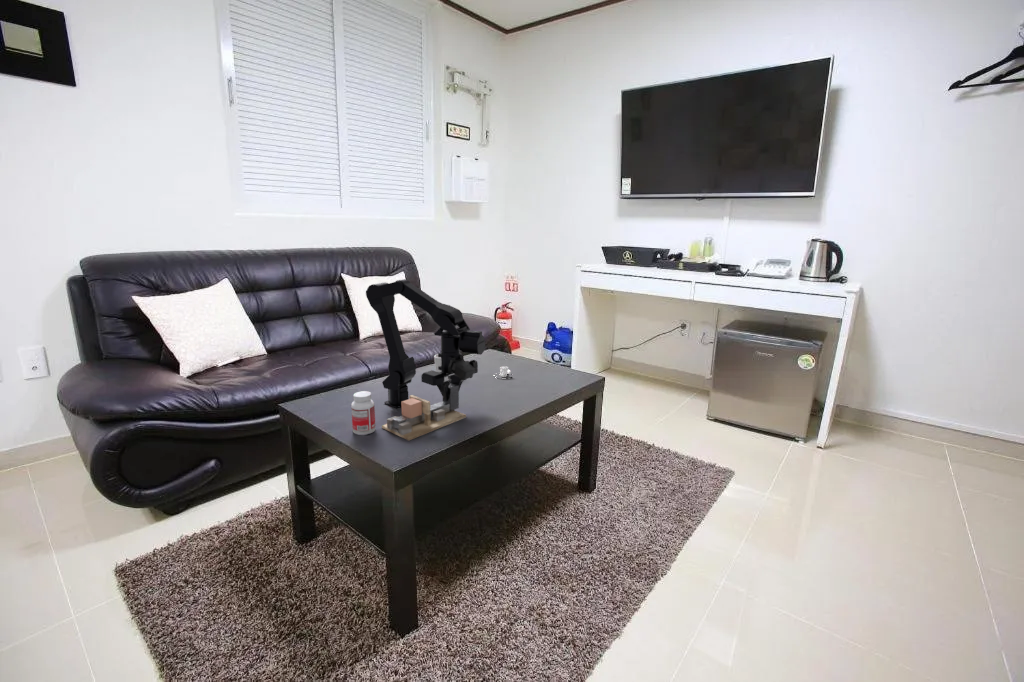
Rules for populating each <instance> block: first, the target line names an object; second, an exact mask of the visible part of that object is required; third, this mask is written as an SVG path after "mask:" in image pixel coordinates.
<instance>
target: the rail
mask: <svg viewBox="0 0 1024 682" xmlns="http://www.w3.org/2000/svg"><path fill="white" fill-rule="evenodd" d="M408 398H409V399H411V398H414V399H417V400H419V401H422V413H424V414H425V421H423V422H420V423H417V424H415V425H412V426H411V422H408V421H406V422H403V423H400V424H399V430H398V429H396V428H394V427H393V419H394V418H396V417H398V416H396V415H394V416H392V417H389V418H387V419H386V423H384V424H383V425H381V429H383V430H385V431H388V432H390V433H392V434H393V435H396V436H398V437H400V438H402V439H404V440H407V441H408V442H409V441H411V440H414V439H416V438H418V437H421V436H424V435H426V434H428V433H431V432H434V431H436V430H438V429H441V428H443V427H445V426H449V425H451V424H453V423H456V422H458V421H460V420H463V419H465V418H467V414H465V413H462V412H460V411H457V410H456V409H455V410H452V411H449V412H446V413H445V410H443V409H438V410H436V411H433V418H430V405H431V401H429V400H426V399H424V398H421V397H419V396H416V395H414V394H411V395H408Z"/></svg>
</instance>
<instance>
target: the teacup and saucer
mask: <svg viewBox="0 0 1024 682" xmlns="http://www.w3.org/2000/svg"><path fill="white" fill-rule="evenodd" d="M499 373H500V374H499V376H500V377H501V376H502V377H501V378H507V376H508V375H507V374H512V371H511V370H510V369H509V366H506V365H503V366H500V367H499ZM493 376H495V375H494V374H493ZM496 377H497V376H496ZM496 377H495V379H497V378H496Z"/></svg>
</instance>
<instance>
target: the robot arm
mask: <svg viewBox="0 0 1024 682" xmlns="http://www.w3.org/2000/svg"><path fill="white" fill-rule="evenodd" d="M395 295H401V296H402V297H404V299H406V300H408V301H409V302H411V303H412V304H414V305H415V306H417V307H418V308H419V309H421V310H423V311H424V312H426V313H427V314H428V315H429V316H430V317H431V318H432V321H433V322H434V323H435V324H436V325H437V326H438V327H439V328H438V329H437V331H435V332H434V333H433V335H434V336H438V337H440V352H438V353H437V354H438V357H441V366H438V370H441V372H436V370H432V369H431V370H428V371H425V372H423V373H422V374H421V383H424V384H426V385H430V386H434V387H437V389H438V391H439V392H440V394H441V396H442V399H443V398H444V400H445V401H448V387H449V385H450V383H453V384H456V385H459V391H460V389H461V388H462V387H461V386H462V385H463V382H464V381H466V380H467V379H472V378H473V376H474V374H477V373H478V370H479V369H478V368H479V367H478V365H479V364H478V361H477V360H475V359H472V360H470V361H469V360H465V359H464V357H465V356H464V353H465V354H472V355H473V354H474V355H480V356H481V355H483V353H484V351H485V348H486V341H485V337H484V335H483V331H481V330H475V331H474V330H471V328H470V327H469V325H468V324H467V322H466V321H465V319H464V317H463V312H462V311H461V310H460V309H458V308H456V307H454V306H451V305H450V304H446V303H442V302H440V301H438V300H437V299H435V298H434V297H432V296H431V295H429V294H427V293H426V292H425V291H424V290H422V289H421V288H420V287H419V288H418V287H417V286H416V285H414V284H413V283H412V282H410V280H408V279H398V280H395V281H393V282H389V283H388V282H379V283H375V284H374V283H373V284H371V285H369V286H368V287H367V289H366V290H365V296H366V298H367V302H368V303H369V305H370V307H371V308H372V309H373V310H374V311H375V312H376V314H377V316H378V320H379V322H380V327H381V330H382V334H383V337H384V342H385V344H386V349H387V351H388V355H389V361H388V366H387V368H388V369H387V370H388V376H387V377H386V378H385V379H384V380H382V386H383V388H384V389H387V396H388V400H385V401H384V404H385V405H387V406H390V407H392V408H395V409H398V408H402V407H401V402H402V401H405V400H408V399H410V398H409V389H408V388H409V386H408V384H410V383H412V380H413V378H414V377H415V375H416V373H417V371H416V369H418V367H417V366H416V363H415V358H414V356H411V357H409V355H408V354H407V353H406V352H405V348H404V344H403V340H402V337H401V334H400V333H401V332H400V330H399V325H398V322H397V318H396V315H395V312H394V307H395V302H396V299H395ZM461 352H462V353H461ZM449 378H450V381H449Z"/></svg>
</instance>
